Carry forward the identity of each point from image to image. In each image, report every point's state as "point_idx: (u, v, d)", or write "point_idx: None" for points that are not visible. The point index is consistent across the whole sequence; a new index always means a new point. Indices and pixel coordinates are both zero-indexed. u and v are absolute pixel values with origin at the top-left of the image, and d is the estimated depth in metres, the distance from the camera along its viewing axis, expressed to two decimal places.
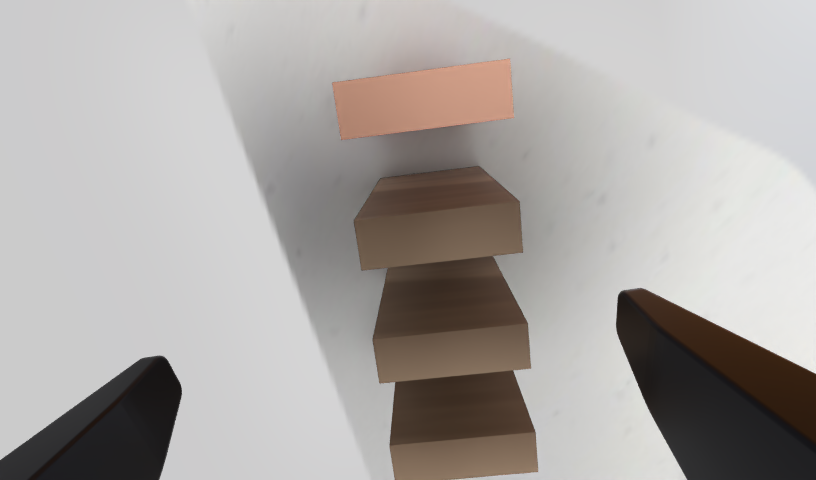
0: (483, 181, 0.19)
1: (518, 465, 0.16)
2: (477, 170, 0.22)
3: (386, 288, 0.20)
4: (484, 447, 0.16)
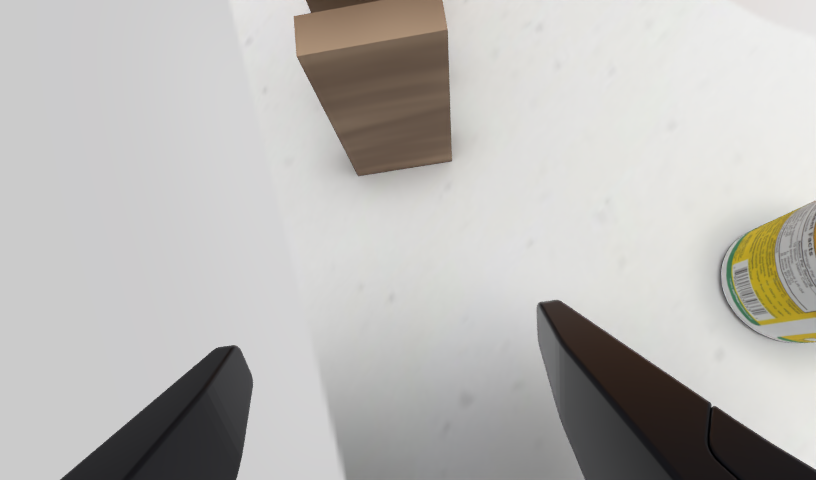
0: None
1: (425, 24, 0.15)
2: None
3: None
4: (389, 9, 0.16)
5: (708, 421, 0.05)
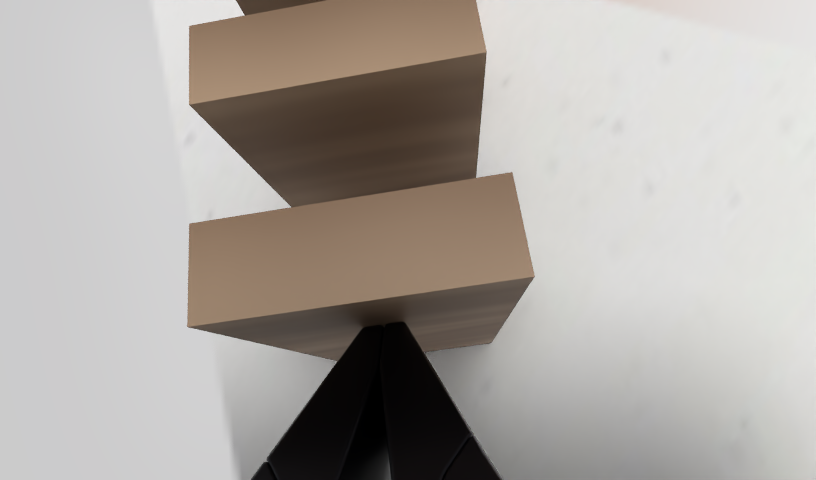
0: None
1: (481, 260, 0.07)
2: None
3: None
4: (398, 217, 0.07)
5: (456, 452, 0.06)
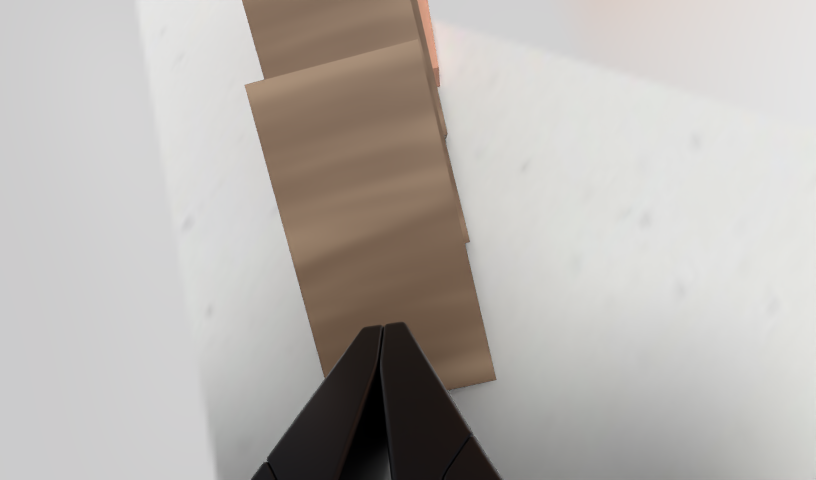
0: None
1: (394, 48, 0.13)
2: None
3: None
4: None
5: (456, 452, 0.06)
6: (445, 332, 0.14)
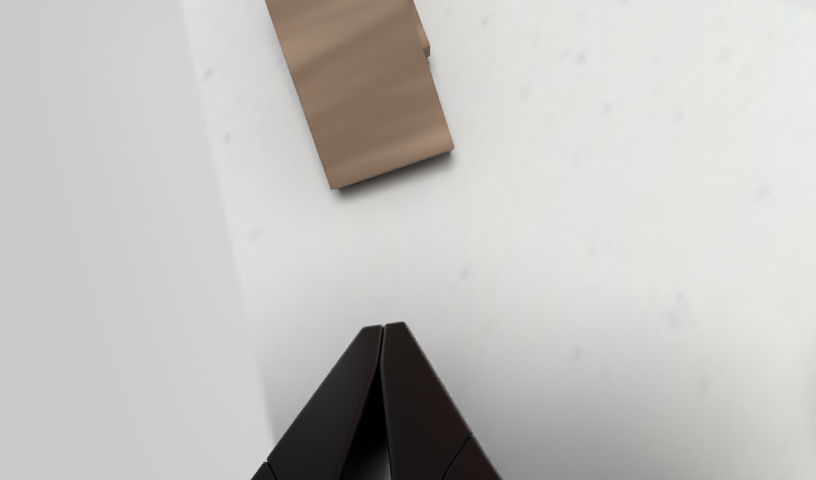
0: None
1: None
2: None
3: None
4: None
5: (456, 452, 0.06)
6: (411, 112, 0.18)
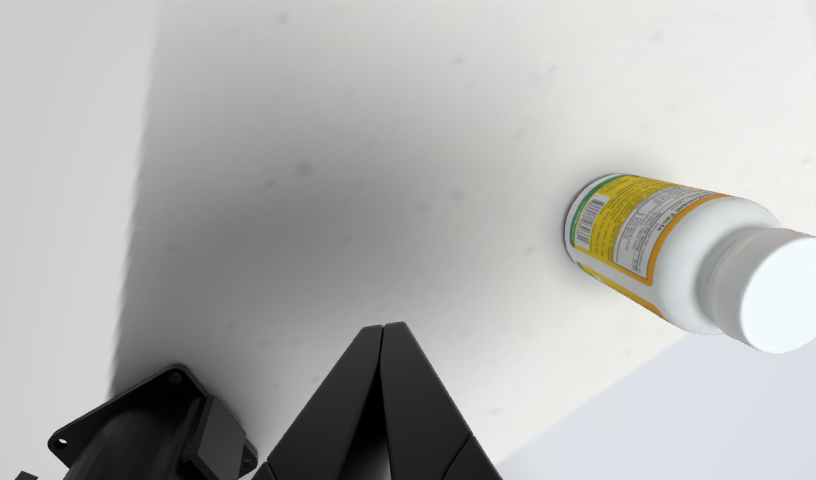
0: None
1: None
2: None
3: None
4: None
5: (456, 452, 0.06)
6: None
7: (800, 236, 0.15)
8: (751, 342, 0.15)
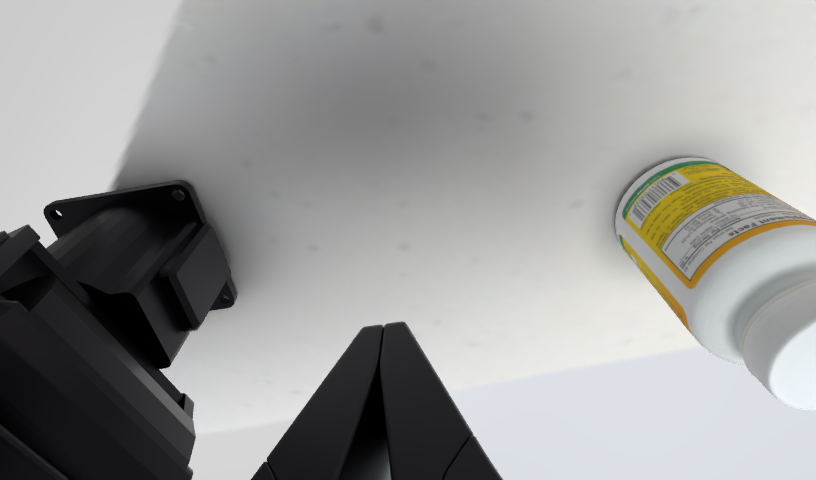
0: None
1: None
2: None
3: None
4: None
5: (456, 452, 0.06)
6: None
7: None
8: (771, 386, 0.14)
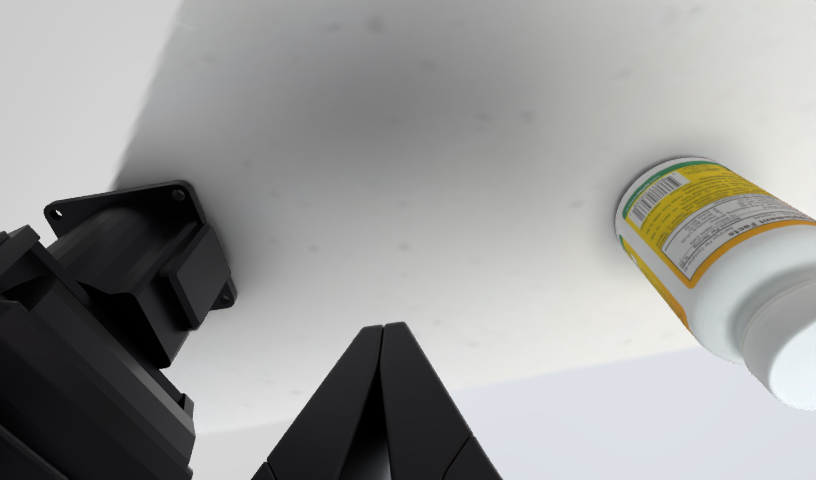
0: None
1: None
2: None
3: None
4: None
5: (456, 452, 0.06)
6: None
7: None
8: (771, 386, 0.14)
